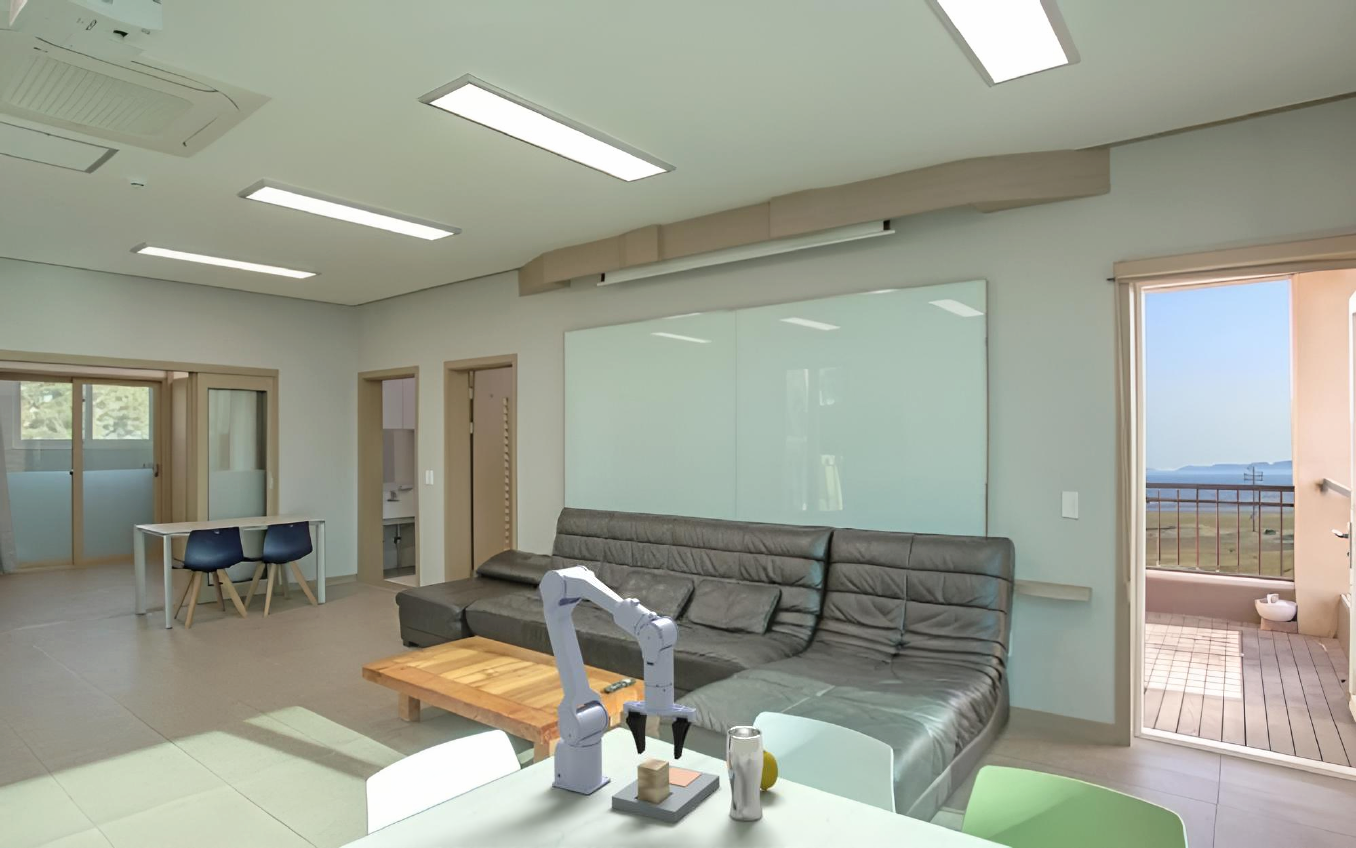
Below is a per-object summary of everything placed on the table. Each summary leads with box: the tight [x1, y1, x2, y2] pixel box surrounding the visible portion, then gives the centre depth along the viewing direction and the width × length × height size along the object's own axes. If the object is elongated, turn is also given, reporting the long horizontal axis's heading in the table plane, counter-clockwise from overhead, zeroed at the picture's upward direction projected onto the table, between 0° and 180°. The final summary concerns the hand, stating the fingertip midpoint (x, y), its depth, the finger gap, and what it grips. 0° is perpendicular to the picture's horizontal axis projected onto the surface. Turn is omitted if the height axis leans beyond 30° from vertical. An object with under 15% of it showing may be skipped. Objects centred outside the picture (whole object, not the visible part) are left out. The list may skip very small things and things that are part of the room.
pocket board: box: [611, 764, 721, 824], centre depth 149 cm, size 14×18×2 cm
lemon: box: [760, 749, 779, 792], centre depth 151 cm, size 6×6×8 cm
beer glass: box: [725, 725, 764, 823], centre depth 141 cm, size 7×7×15 cm
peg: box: [636, 757, 670, 804], centre depth 145 cm, size 4×4×8 cm
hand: (659, 755), depth 145 cm, fingers open, 7 cm apart
